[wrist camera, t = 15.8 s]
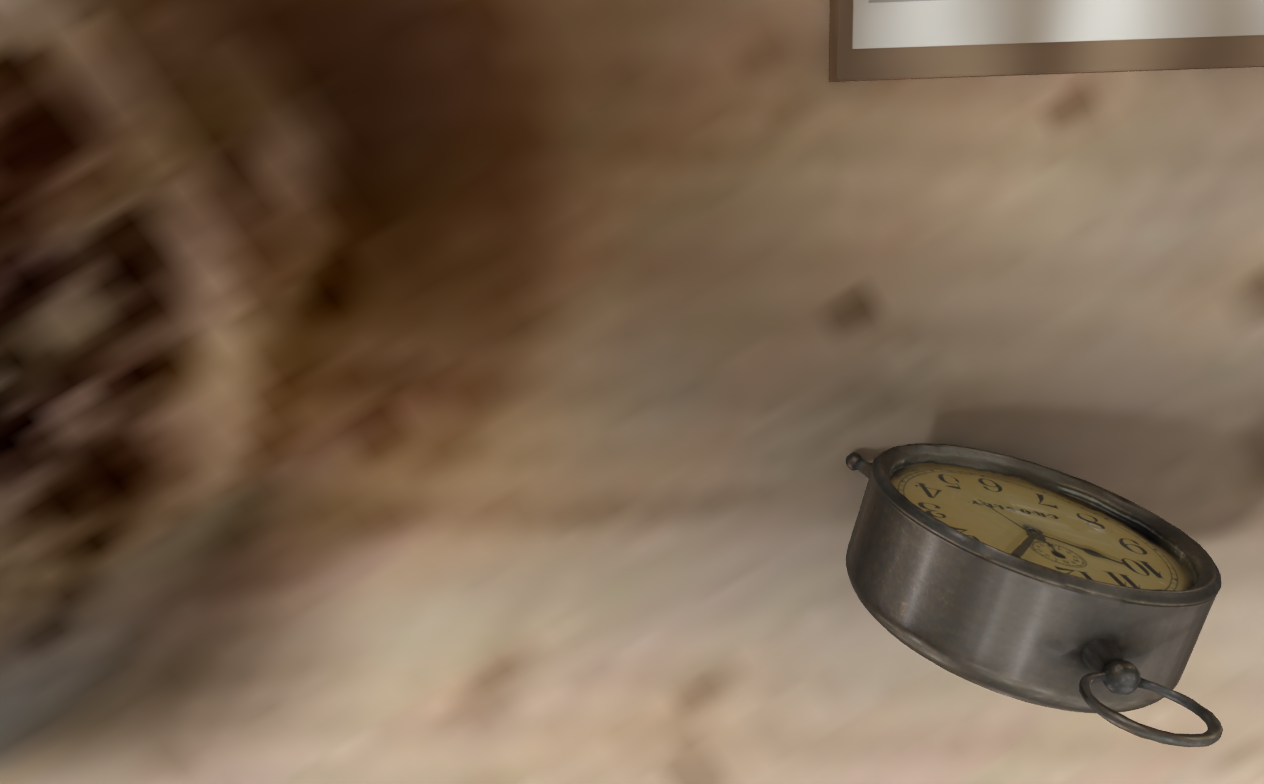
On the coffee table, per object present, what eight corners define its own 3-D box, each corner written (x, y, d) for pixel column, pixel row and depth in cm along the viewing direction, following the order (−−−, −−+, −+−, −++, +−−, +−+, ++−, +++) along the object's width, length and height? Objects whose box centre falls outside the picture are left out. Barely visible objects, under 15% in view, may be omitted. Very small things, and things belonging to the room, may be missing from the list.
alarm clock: (1103, 466, 40) (1430, 684, 25) (1059, 591, 42) (1345, 873, 26) (834, 411, 39) (998, 603, 24) (798, 541, 41) (931, 804, 25)
